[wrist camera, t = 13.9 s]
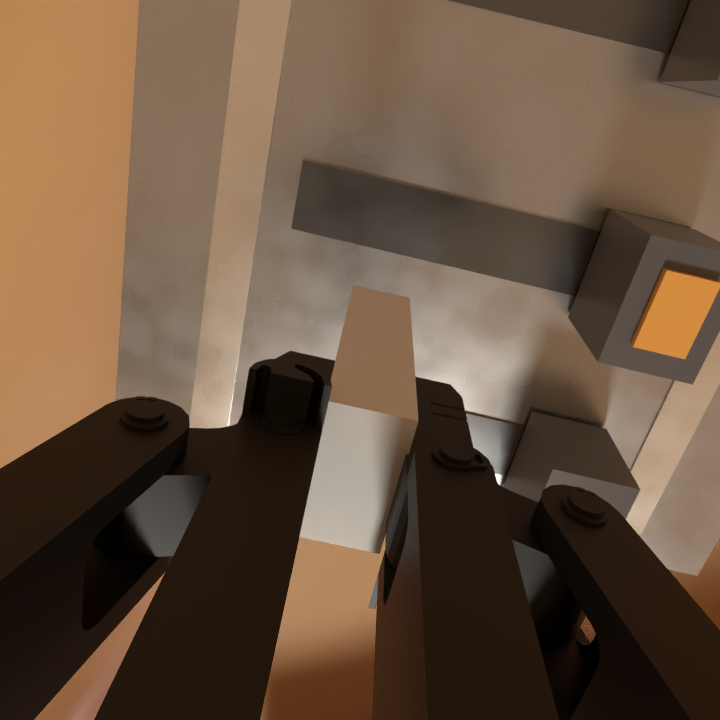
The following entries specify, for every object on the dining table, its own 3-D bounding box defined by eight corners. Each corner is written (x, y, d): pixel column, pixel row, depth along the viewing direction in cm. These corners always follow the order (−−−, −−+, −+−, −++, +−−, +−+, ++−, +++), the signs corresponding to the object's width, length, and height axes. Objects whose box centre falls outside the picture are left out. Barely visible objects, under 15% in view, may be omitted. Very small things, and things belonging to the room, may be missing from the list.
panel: (132, 417, 28) (112, 441, 26) (182, -263, 18) (156, -303, 16) (679, 544, 29) (698, 577, 27) (1015, -56, 19) (1084, -72, 17)
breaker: (500, 493, 26) (514, 560, 22) (532, 411, 24) (552, 468, 20) (570, 509, 26) (595, 578, 22) (606, 428, 24) (640, 489, 20)
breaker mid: (567, 317, 22) (599, 365, 18) (609, 209, 21) (654, 236, 17) (647, 336, 22) (696, 388, 19) (695, 229, 21) (760, 262, 17)
